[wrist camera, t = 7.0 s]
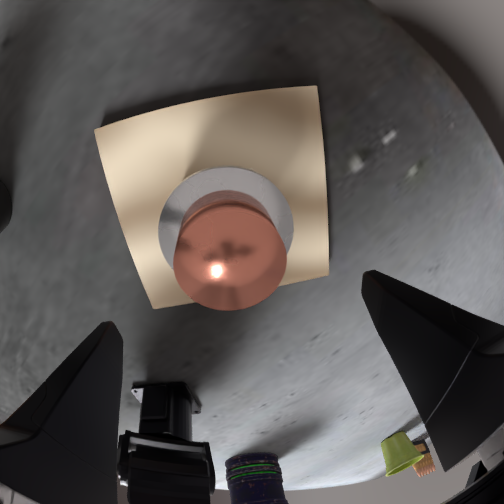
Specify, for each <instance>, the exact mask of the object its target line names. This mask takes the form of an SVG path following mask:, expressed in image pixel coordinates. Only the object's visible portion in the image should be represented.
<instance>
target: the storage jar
mask: <svg viewBox="0 0 504 504" xmlns="http://www.w3.org/2000/svg"><path fill="white" fill-rule="evenodd" d="M225 466H226V468H227V469H226V473H227V474H226V480H227V484H228V489H229V490H230V497H231V504H288V502H287V500H286V499H285V495H284V490H283V485H282V482H283V479H282V472H281V468H280V467H279V463H278V457H277V455H275V454H273V453H265V452H258V453H248V454H242V455H238V456H235V457H232V458H230V459H228V460H227V461H226V462H225Z"/></svg>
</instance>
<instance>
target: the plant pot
mask: <svg viewBox="0 0 504 504" xmlns="http://www.w3.org/2000/svg"><path fill="white" fill-rule="evenodd" d="M381 447H382V451H383V455H384V459H385V463H386V472H387V473H386V476H390V475H393V474H396V473H398V472H400V471H403V470H405V469H406V468H408V467H410V466H412V465H413V464H415V463H416V462H418V461H419V460H421V459H422V458H423V457H424V455H423V454H421V453H420V451H418V450H417V449H416V448H415V446H414V445H413V443H412V442H411V441H410V439H409V438H408V436H407V435H406V434H405V433H404V432H403V431H402V432H398V433H395V434H394V435H392V437H390V438H387V439H385V440H384V441H383V442H382V443H381Z"/></svg>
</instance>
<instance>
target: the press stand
mask: <svg viewBox="0 0 504 504" xmlns="http://www.w3.org/2000/svg"><path fill="white" fill-rule="evenodd" d="M94 132H95V136H96V140H97V145H98V149H99V153H100V157H101V160H102V164H103V168H104V172H105V175H106V179H107V182H108V186H109V189H110V193H111V196H112V199H113V202H114V206H115V209H116V212H117V215H118V218H119V221H120V224H121V227H122V230H123V233H124V236H125V238H126V241H127V244H128V247H129V250H130V252H131V255H132V258H133V260H134V263H135V265H136V268H137V271H138V273H139V276H140V278H141V281H142V283H143V286H144V288H145V290H146V293H147V295H148V298H149V300H150V302H151V305H152V307H153V309H159V308H165V307H171V306H177V305H182V304H188V303H194V302H195V301H194V300H192V299H191V298H190V297H189V296H188V295H187V294H185V292H184V291H183V290H182V289H181V287H180V286H179V284H178V282H177V280H176V277H175V274H174V270H173V269H172V268H171V267H170V266H169V264H168V263H167V261H166V259H165V258H164V256H163V253H162V251H161V248H160V244H159V238H158V224H159V219H160V215H161V212H162V209H163V207H164V204H165V202H166V201H167V199H168V197H169V195H170V194H171V193H172V191H173V190H174V189H175V188H176V187H177V186H178V184H179V183H181V182H182V181H183V180H184V179H186V178H187V177H188V176H190V175H192V174H194V173H195V172H198V171H200V170H203V169H205V168H209V167H213V166H220V165H234V166H241V167H245V168H248V169H251V170H254V171H256V172H258V173H260V174H262V175H263V176H265V177H266V178H268V179H269V180H270V181H271V182H272V183H273V184H274V185H275V186H276V187H277V188H278V189H279V190H280V191H281V193H282V194H283V196H284V197H285V199H286V200H287V202H288V205H289V207H290V209H291V213H292V217H293V223H294V233H293V240H292V244H291V247H290V249H289V252H288V254H287V265H286V270H285V274H284V276H283V278H282V281H281V282H280V284H279V285H278V286H281V285H286V284H291V283H295V282H300V281H305V280H309V279H314V278H318V277H323V276H327V275H329V240H328V209H327V189H326V173H325V159H324V147H323V136H322V126H321V116H320V107H319V99H318V91H317V86H302V87H288V88H277V89H267V90H259V91H251V92H243V93H237V94H230V95H224V96H218V97H213V98H208V99H202V100H197V101H193V102H188V103H184V104H179V105H175V106H171V107H167V108H163V109H159V110H155V111H152V112H148V113H144V114H141V115H137V116H134V117H131V118H128V119H124V120H121V121H118V122H115V123H112V124H109V125H106V126H103V127H101V128H98V129H95V130H94Z"/></svg>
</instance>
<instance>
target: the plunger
mask: <svg viewBox="0 0 504 504" xmlns="http://www.w3.org/2000/svg"><path fill="white" fill-rule="evenodd" d="M293 233H294V223H293V217H292V213H291V209H290V207H289V205H288V202H287V200H286V199H285V197H284V196H283V194H282V193H281V191H280V190H279V189H278V188H277V187H276V186H275V185H274V184H273V183H272V182H271V181H270V180H269V179H268V178H266V177H265V176H263V175H262V174H260V173H258V172H256V171H254V170H251V169H248V168H245V167H241V166H234V165H220V166H213V167H209V168H205V169H203V170H200V171H198V172H195V173H194V174H192V175H190V176H188V177H187V178H186V179H184V180H183V181H182V182H181V183H179V184H178V186H177V187H176V188H175V189H174V190H173V191H172V193H171V194H170V195H169V197H168V199H167V201H166V202H165V204H164V207H163V209H162V212H161V215H160V219H159V224H158V238H159V244H160V248H161V251H162V253H163V256H164V258H165V259H166V261H167V263H168V264H169V266H170V267H171V268H172V269H173V270H174V274H175V277H176V280H177V282H178V284H179V286H180V287H181V289H182V290H183V291H184V292H185V294H187V295H188V296H189V297H190V298H191V299H192V300H194V301H195V302H197V303H199V304H201V305H203V306H205V307H208V308H211V309H216V310H224V311H231V310H240V309H244V308H248V307H251V306H253V305H255V304H257V303H259V302H261V301H263V300H264V299H266V298H267V297H268V296H269V295H271V294H272V293H273V292H274V291H275V289H276V288H277V287H278V285H279V284H280V282H281V281H282V278H283V276H284V274H285V270H286V265H287V254H288V252H289V249H290V247H291V244H292V240H293Z"/></svg>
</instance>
